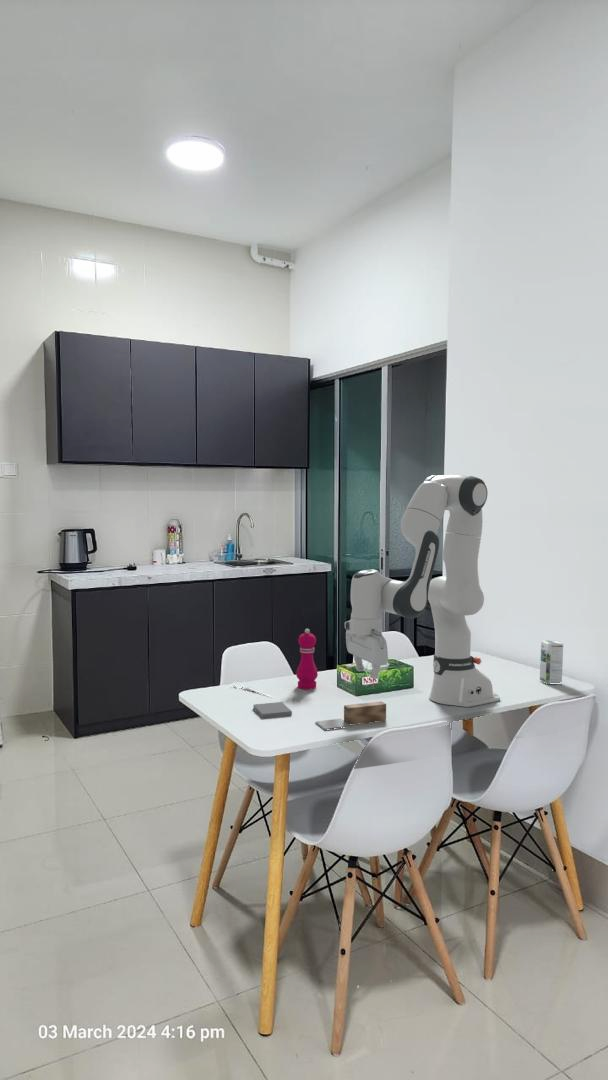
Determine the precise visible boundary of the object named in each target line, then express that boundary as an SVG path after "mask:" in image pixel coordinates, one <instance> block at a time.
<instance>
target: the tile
mask: <svg viewBox="0 0 608 1080" xmlns="http://www.w3.org/2000/svg"><path fill="white" fill-rule="evenodd" d="M253 710H254V711H255V713H257V714H258V715H259V716H260V717H261V719H270V718H269V717H272V718H279V717H281V716H282V717H290V716H291V715H292V716H293V711H292V710H291V709H290V708H289V707H288V706H287V705H286V704H285V703H284V702H282V701H279V702H277V701H276V702H266V703H257V704H253Z"/></svg>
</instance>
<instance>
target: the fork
mask: <svg viewBox="0 0 608 1080" xmlns="http://www.w3.org/2000/svg"><path fill="white" fill-rule="evenodd" d="M231 683H232V684H233V687H234V688H235V689H237V688H238V690H240V689H239V688H242V687H246V686H244V685H242V684H241V682H239V681H238V680H237V681H231ZM241 686H242V687H241ZM244 690H246V691H249V690H250V691H249V692H252V691H254V692H257V693H256V694H258V693H261V694H263V695H262V696H265V695H267V696H266V697H268V696H270V697H269V698H271V696H272V695H269V694H266V693H264V692H262V691H259V690H256V689H254V688H251V687H248V686H247V687H246V688H243V689H242V690H241V691H244ZM254 692H253V693H254ZM261 694H260V695H261Z"/></svg>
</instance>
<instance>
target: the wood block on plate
mask: <svg viewBox="0 0 608 1080" xmlns="http://www.w3.org/2000/svg"><path fill="white" fill-rule="evenodd" d="M384 720H386V721H387V703H385V702H383V701H381V700H380V701H373V702H372V701H371V702H362V703H361V702H360V703H356V704H344V705H343V718H334V719H333V718H332V719H325V720H317V721H315V722H314V723H315V724H316V723H317V724H318V725H319V726H318V725H317V724H316V725H317V726H318V727H320V726H321V727H322V728H323V729H324V731H325V730H327V729H334V728H341V727H342V728H343V727H351V728H352V725H350V724H356V725H359V724H358V723H365V724H370V723H369V722H373V723H376V722H375V721H381V722H385V721H384ZM321 727H320V728H321ZM322 728H321V729H322ZM323 729H322V730H323Z"/></svg>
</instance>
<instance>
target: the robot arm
mask: <svg viewBox="0 0 608 1080" xmlns="http://www.w3.org/2000/svg"><path fill="white" fill-rule="evenodd" d="M488 493H489V492H488V488H487V485H486V482H484V480H483V479H481V478H479V477H476V476H472V475H470V476H467V475H463V474H462V475H461V474H443V475H442V474H441V475H440V474H435V475H434V474H432V475H430V476H427V477H426V478H425V479H424V480H423V482H422V483H420V484H419V486H418V487H417V489H416V490H415V492H414V493H413V495H412V497H411V499H410V501H409V503H408V504H407V507H406V509H405V511H404V513H403V516H402V518H401V522H400V532H401V534H402V536H403V538H404V539H405V540H406V541H407V542H408V543H409V544H411V545H412V546H413V548H414V549H415V556H414V559H413V560H414V561H413V564H412V567H411V571H410V575H409V577H408V578H407V579H406V580H405V581H402V580H397V579H392V578H390V577H387V576H384V575H383V574H382V573H380V572H379V570H377V569H363V570H362V569H361V570H360V571H357V572H355V573H354V574H353V576H352V579H351V584H350V604H351V614H350V619H349V620H347V621H345V622H344V629H345V630H346V631H345V644H346V650H347V652H348V653H349V654H351V655H352V656H353V660H354V663H355V670H356V671H358V672H363V671H364V670H365V669H364V664H363V660H364V661H366V662H367V663H369V664H371V667H372V668H371V671H370V672H369V673H370V674H369V675H370V678H371V679H373V680H377V679H378V678H379V672H380V671H381V670H380V669H381V666H387V664H388V662H389V655H388V653H389V652H388V644H387V640H386V638H385V637H384V635H383V619H382V618H383V617H382V616H383V614H382V613H383V612H386V613H388V614H393V615H398V616H400V617H403V618H406V619H409V620H410V619H411V620H412V619H416V618H417V617H420V615H422V614H423V612H425V610H426V608H427V606H428V602H429V605H430V610H431V614H432V619H433V624H434V632H435V633H434V637H435V638H434V639H435V640H434V643H435V644H434V649H435V650H434V654H433V663H432V665H433V679H432V686H431V691H430V694H429V697H428V698H429V700H431V701H433V702H435V703H438V704H440V705H441V704H442V705H449V706H459V707H465V708H470V707H475V706H480V705H484V704H485V705H486V704H490V703H494V702H499V700H500V701H501V697H500V696H499V695H498V694H497V693H495V692H494V691H493V683H492V681H491V679H490V678H489V677H488V676H487V675H485V674H484V673H483V672H482V671H480V670H479V669H478V668H477V667H476V665H481V663H482V659H481V657H478V656H475V657H474V656H472V655H471V643H472V642H471V641H472V639H471V637H472V635H471V634H472V633H471V630H470V628H469V625H468V623H467V619H466V617H465V616H472V615H475V614H477V613H478V612H479V611H481V609H482V608H483V606H484V602H485V595H484V593H483V590H482V589H481V586H480V581H479V569H478V568H479V567H478V565H479V563H478V561H479V552H480V548H481V547H480V546H481V539H482V533H483V508H484V506H485V504H486V502H487V501H488V500H487V499H488ZM445 511H448V513H449V516H448V520H447V524H446V529H445V536H444V541H443V548H442V553H441V557H442V560H443V563H444V569H445V575H441V576H437V577H434V578H432V577H433V574H434V569H435V565H436V562H437V558H438V553H439V548H440V538H439V536H438V533H439V528H440V526H441V524H442V520H443V518H444V514H445ZM475 664H476V665H475Z"/></svg>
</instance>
